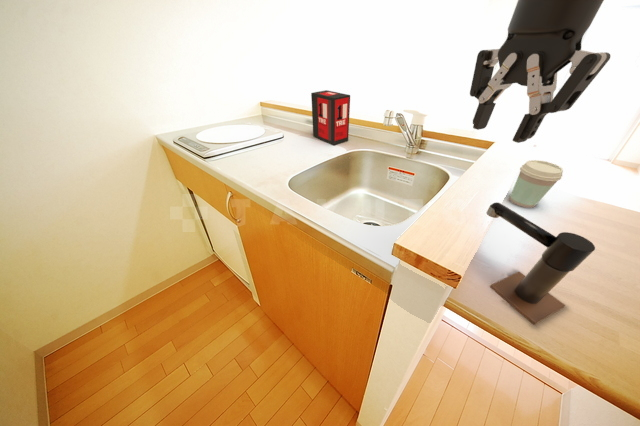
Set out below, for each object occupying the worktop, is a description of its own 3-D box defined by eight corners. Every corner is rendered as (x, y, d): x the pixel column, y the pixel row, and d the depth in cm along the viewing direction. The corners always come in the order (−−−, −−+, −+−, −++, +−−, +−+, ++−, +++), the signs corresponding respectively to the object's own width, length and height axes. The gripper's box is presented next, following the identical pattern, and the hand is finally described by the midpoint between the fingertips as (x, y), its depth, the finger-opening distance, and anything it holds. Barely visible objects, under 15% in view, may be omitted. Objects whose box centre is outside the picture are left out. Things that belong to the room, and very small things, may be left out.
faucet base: (560, 309, 41) (603, 273, 34) (531, 327, 38) (571, 291, 32) (515, 275, 47) (544, 239, 40) (487, 289, 44) (514, 252, 38)
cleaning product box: (348, 141, 110) (350, 95, 97) (333, 145, 105) (334, 98, 93) (326, 132, 120) (326, 90, 108) (313, 136, 116) (311, 92, 104)
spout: (581, 267, 35) (602, 247, 32) (562, 274, 34) (582, 254, 31) (494, 211, 46) (504, 193, 44) (478, 215, 45) (488, 197, 43)
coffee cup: (546, 212, 62) (575, 173, 55) (515, 213, 63) (539, 174, 55) (525, 195, 69) (548, 158, 62) (496, 196, 69) (516, 159, 62)
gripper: (482, -13, 28) (442, 125, 39) (648, -46, 18) (532, 156, 28) (522, -12, 31) (474, 119, 41) (692, -40, 20) (569, 146, 30)
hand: (498, 134), depth 34 cm, fingers open, 5 cm apart
